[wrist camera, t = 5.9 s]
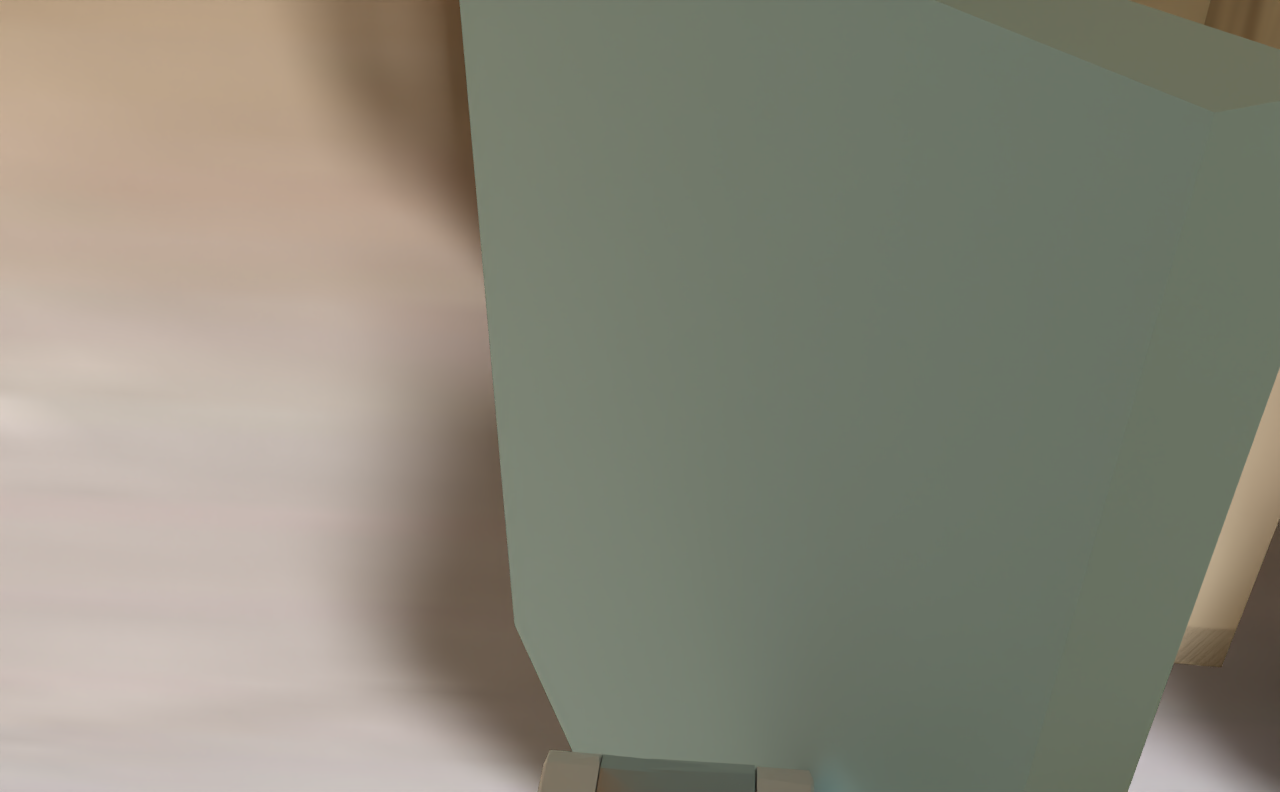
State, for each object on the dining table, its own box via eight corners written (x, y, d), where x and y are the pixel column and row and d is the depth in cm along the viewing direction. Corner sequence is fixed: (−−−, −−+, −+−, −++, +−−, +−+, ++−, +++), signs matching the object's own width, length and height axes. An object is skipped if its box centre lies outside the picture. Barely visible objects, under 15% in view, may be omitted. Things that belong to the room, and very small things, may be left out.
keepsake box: (613, 400, 30) (561, 614, 23) (600, -253, 22) (514, -209, 15) (1123, 432, 29) (1221, 667, 22) (1314, -249, 21) (1561, -201, 14)
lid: (615, 595, 24) (514, 624, 23) (599, -205, 16) (442, -197, 15) (1061, 1363, 13) (898, 1462, 12) (1742, 101, 5) (1381, 178, 4)
